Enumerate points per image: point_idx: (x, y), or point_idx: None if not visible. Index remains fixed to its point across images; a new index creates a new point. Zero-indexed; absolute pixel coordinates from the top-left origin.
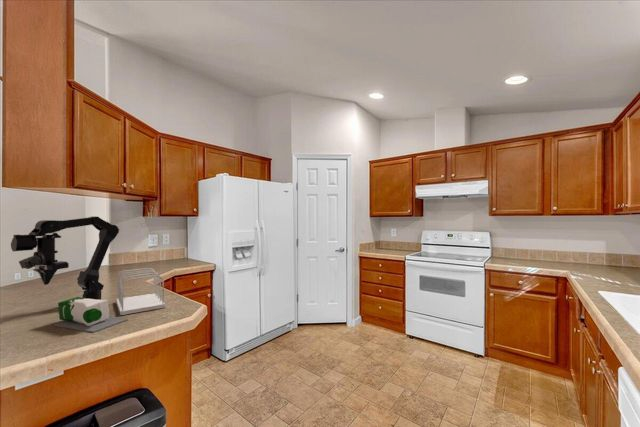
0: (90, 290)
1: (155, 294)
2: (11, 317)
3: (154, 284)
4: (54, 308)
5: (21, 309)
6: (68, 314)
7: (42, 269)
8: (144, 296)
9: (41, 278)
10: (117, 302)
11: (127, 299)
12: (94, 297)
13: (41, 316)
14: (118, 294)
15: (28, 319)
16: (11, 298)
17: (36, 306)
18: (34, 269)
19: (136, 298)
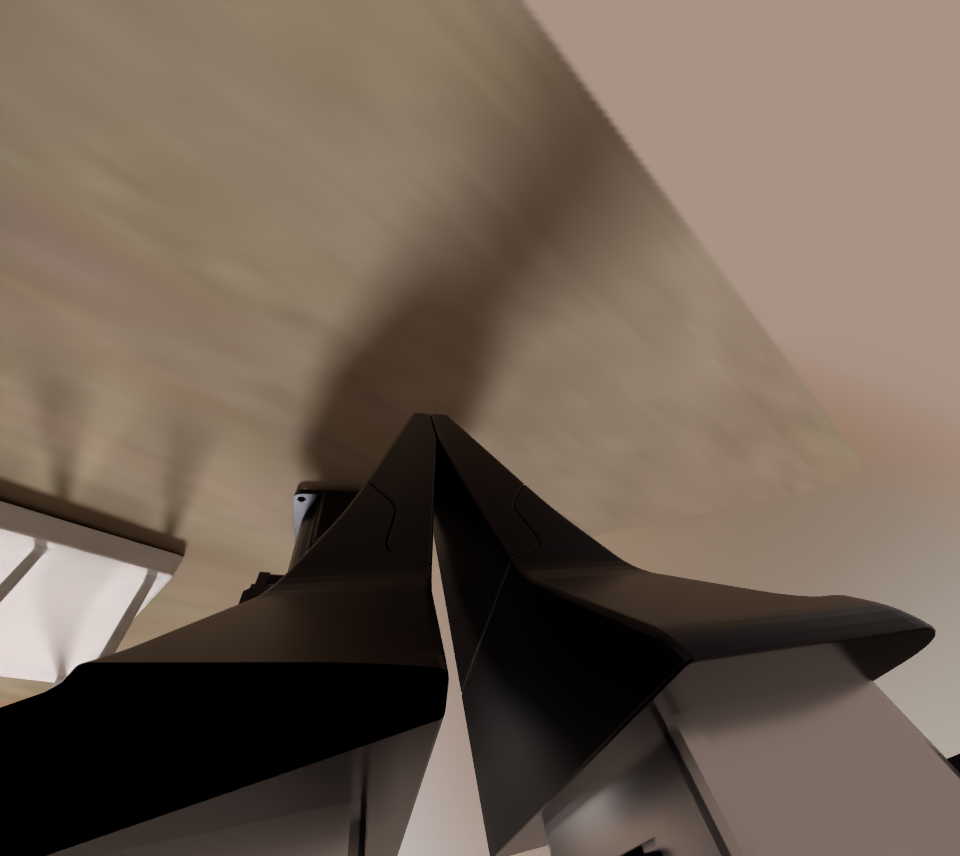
0: (268, 579)
1: (33, 676)
2: (595, 168)
3: None
4: (469, 398)
5: (670, 348)
6: None
7: (565, 745)
8: (39, 643)
9: (507, 471)
10: (18, 534)
11: (57, 587)
12: (296, 545)
13: (360, 220)
14: (128, 609)
15: (386, 119)
16: (842, 476)
17: (624, 408)
18: (866, 657)
19: (21, 612)
